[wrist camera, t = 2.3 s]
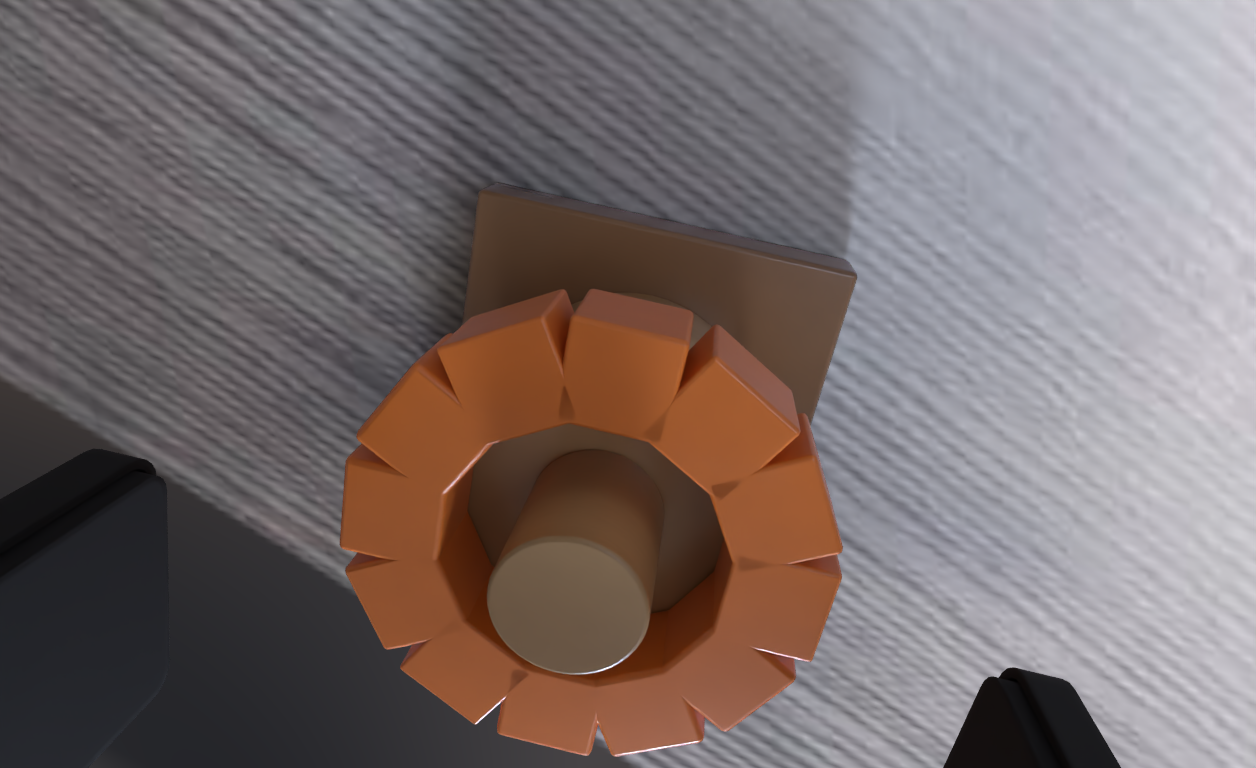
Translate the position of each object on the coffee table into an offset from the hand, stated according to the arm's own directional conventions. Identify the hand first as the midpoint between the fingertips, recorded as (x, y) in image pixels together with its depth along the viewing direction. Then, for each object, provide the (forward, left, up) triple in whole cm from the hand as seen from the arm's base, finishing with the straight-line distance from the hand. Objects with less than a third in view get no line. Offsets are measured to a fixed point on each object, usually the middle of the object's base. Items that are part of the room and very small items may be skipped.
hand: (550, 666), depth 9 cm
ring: (0, 0, -3) cm, 3 cm away
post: (0, 0, -8) cm, 8 cm away
